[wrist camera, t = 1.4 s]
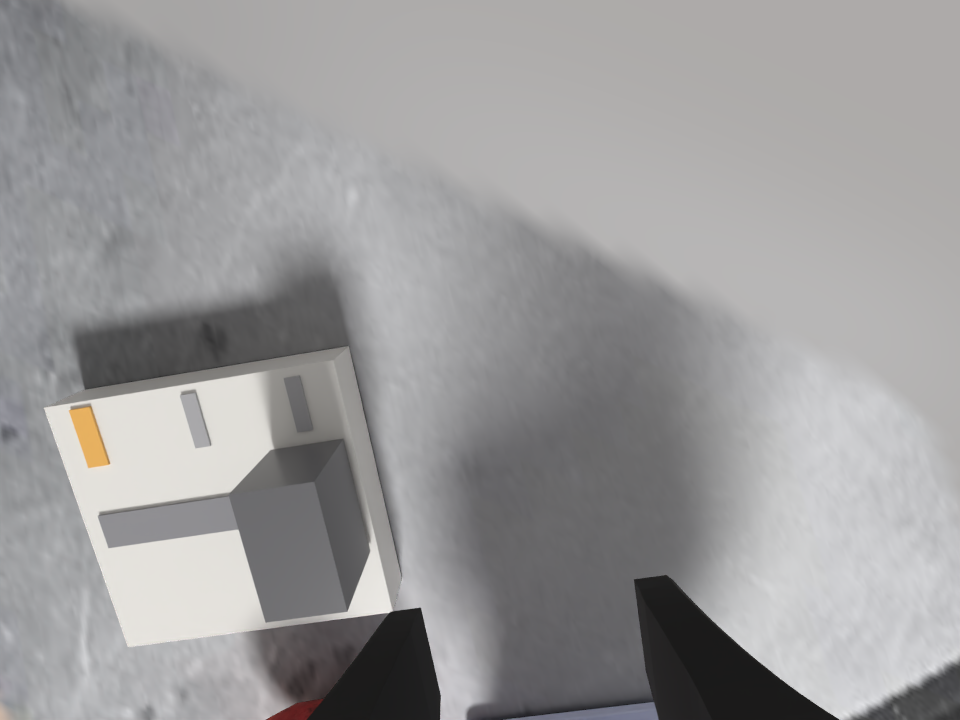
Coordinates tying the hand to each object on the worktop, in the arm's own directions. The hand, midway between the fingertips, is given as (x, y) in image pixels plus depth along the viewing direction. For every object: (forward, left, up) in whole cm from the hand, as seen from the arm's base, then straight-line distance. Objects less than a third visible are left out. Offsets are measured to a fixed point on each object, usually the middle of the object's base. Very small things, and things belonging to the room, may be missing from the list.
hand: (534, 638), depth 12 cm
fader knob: (0, +7, -8) cm, 11 cm away
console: (0, +10, -10) cm, 14 cm away
